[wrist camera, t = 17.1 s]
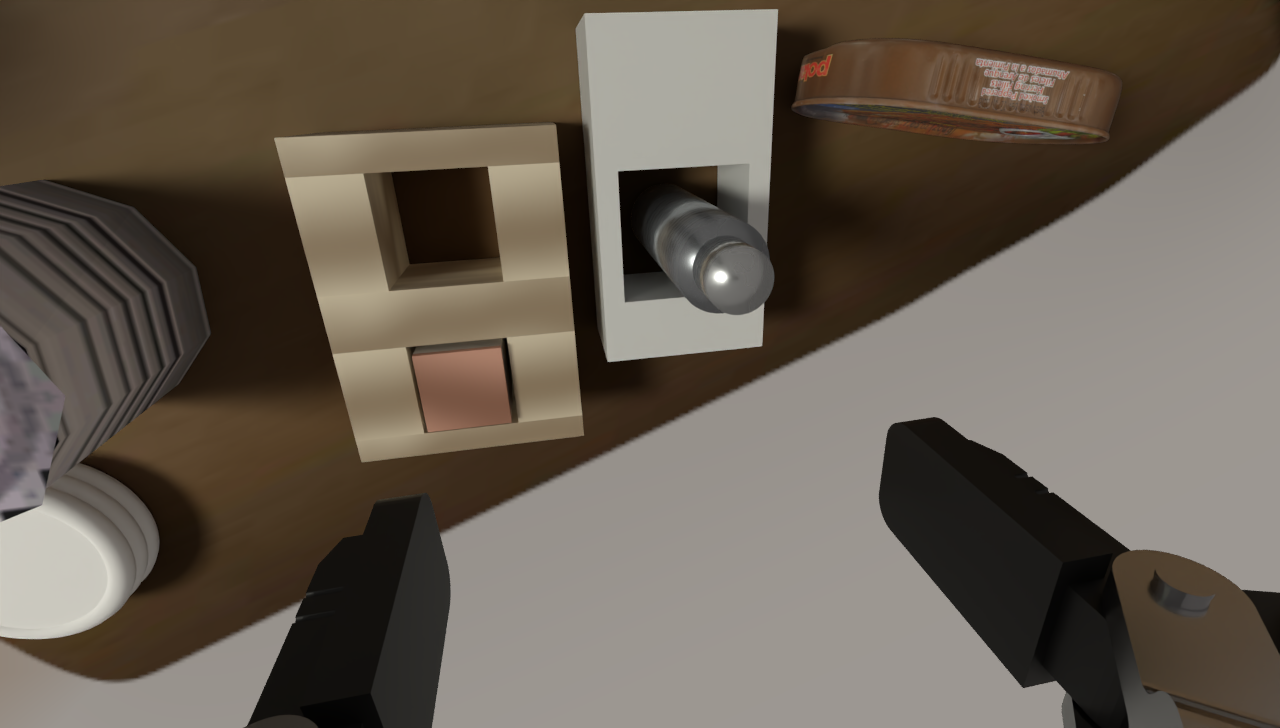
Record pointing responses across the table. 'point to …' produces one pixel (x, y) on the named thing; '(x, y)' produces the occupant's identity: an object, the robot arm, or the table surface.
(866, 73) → the tin
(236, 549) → the table surface
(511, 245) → the socket block
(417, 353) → the key
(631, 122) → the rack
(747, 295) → the stepped metal cylinder
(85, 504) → the white round container
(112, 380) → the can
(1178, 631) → the robot arm
